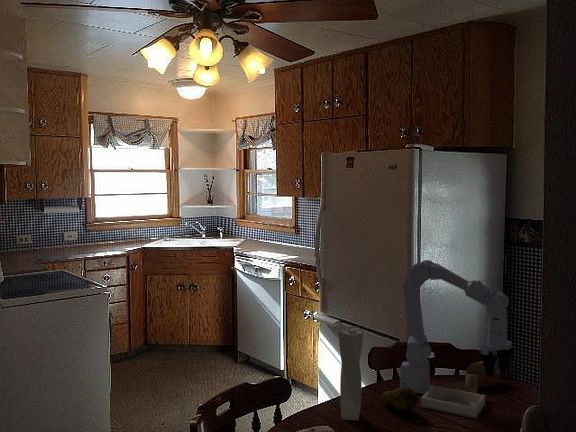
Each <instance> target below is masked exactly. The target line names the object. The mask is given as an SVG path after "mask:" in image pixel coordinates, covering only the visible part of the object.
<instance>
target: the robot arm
mask: <svg viewBox="0 0 576 432" xmlns="http://www.w3.org/2000/svg"><path fill="white" fill-rule="evenodd" d="M428 280H430V281H434V280H435V281H436V280H442V281H444V282H446V283H448V284H450V285H452V286H455V287H457V288H458V289H461V290H463V291H464V294H465V296H466V297H468V298H470V299H472V300H474V301H475V302H477V303H479V304H481V305H483V306H486V308H487V310H488V315H487V342H486V343H485V344H484V345H483V346H482V347H480V351H478V356H479V358H480V359H481V361H483V364H484V368H485V372H486V375H489V376H493V375H494V368H495V363H496V361H497V360H498V361H497V362H498V363H499V370H501V372H505V373H506V372H507V371H508V366H509V363H510V360H511V358H512V356H513V354H514V353H515V349H514V348H513V341H511V340H508V339H507V338H508V310H507V307H508V306H509V302H510V301H509V298H508V296H507V295H506V293H504V292H503V291H500V290H498V291H497V289H496V288H491V287H489V286H486V285H485V284H483V282H482V281H481V280H474V279H473V280H470V281H469V280H466V279H465V278H463V277H462V276H460V275H459V274H456V273H455V272H453V271H451V270H449V269H447V268H446V267H444V266H443V265H440V264H439V263H436V262H435V263H434V261H432V260H429V259H426V260H423V261H421V262H417V263H415V264H413V265H412V266H411V267H410V268H409V269H408V272H407V274H406V277H405V279H404V281H403V284H402V290H403V297H404V307H405V314H406V321H407V322H406V323H407V328H408V330H407V331H408V339H407V343H406V344H407V345H406V346H407V349H406V352H405V358H406V360H404V361H403V362H402V363H401V365H400V369H399V370H400V371H399V373H400V374H399V375H400V376H399V379H400V380H399V382H400V383H399V388H402V387H403V388H410V389H412V390H413V391H414V392H415V393H416V394H422V395H424V394H425V393H426V392H427V391H428V390H429V389H430V388H431V387H432V386H433V385H430V364H431V363H430V361H429V358H430V357H431V355H432V348H431V345H430V344H429V341H428V337H427V336H426V335H425V330H424V329H425V328H424V321H423V320H424V319H423V312H422V304H421V295H420V288H421V287H422V286H423V285H424V284H425V282H427V281H428ZM494 352H496V354H497V355H496V354H494Z"/></svg>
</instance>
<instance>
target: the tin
mask: <svg viewBox="0 0 576 432" xmlns="http://www.w3.org/2000/svg"><path fill="white" fill-rule="evenodd" d="M465 373H466V374H474V375H477V389H481V388H486V387H490V386H494V385H496V384H498V383H499V381H500V379H501V376H502V371H501V370H499V362H498V361H497V360H496V363H495V368H494V375H493V376H489V375H486V372H485V368H484V364H483V361H482V360H481V361H477V362H472V363H470V365H468V367H467V369H466V372H465ZM466 374H465V375H466Z"/></svg>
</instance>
